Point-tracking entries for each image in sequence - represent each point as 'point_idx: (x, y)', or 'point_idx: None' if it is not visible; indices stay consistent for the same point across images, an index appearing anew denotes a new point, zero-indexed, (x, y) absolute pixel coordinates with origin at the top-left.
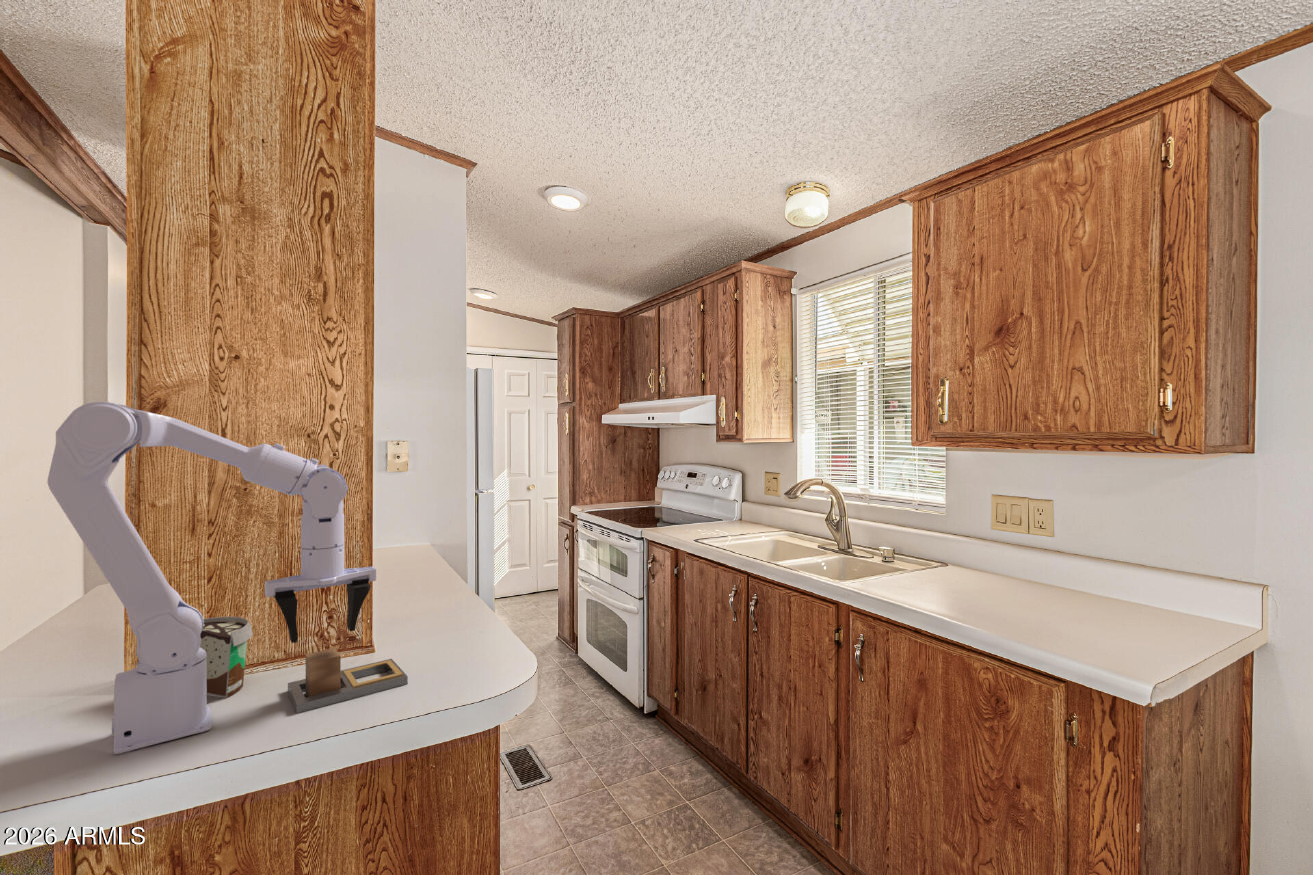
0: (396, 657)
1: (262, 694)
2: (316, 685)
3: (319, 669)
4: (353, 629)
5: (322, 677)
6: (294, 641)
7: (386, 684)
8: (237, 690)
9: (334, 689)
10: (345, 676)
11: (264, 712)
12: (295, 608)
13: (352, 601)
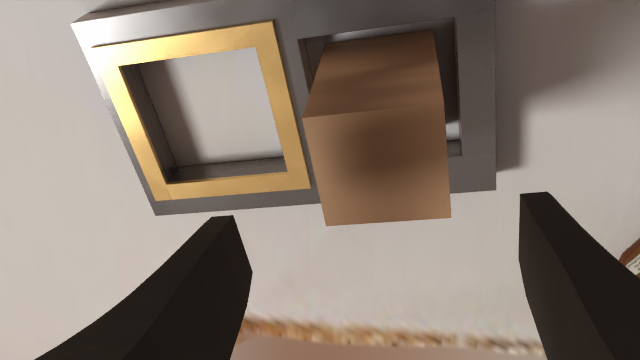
0: (156, 252)
1: (569, 187)
2: (411, 57)
3: (399, 87)
4: (214, 219)
5: (387, 69)
6: (538, 194)
7: (152, 6)
8: (635, 247)
9: (344, 52)
10: (303, 144)
11: (594, 26)
12: (621, 349)
13: (147, 354)
